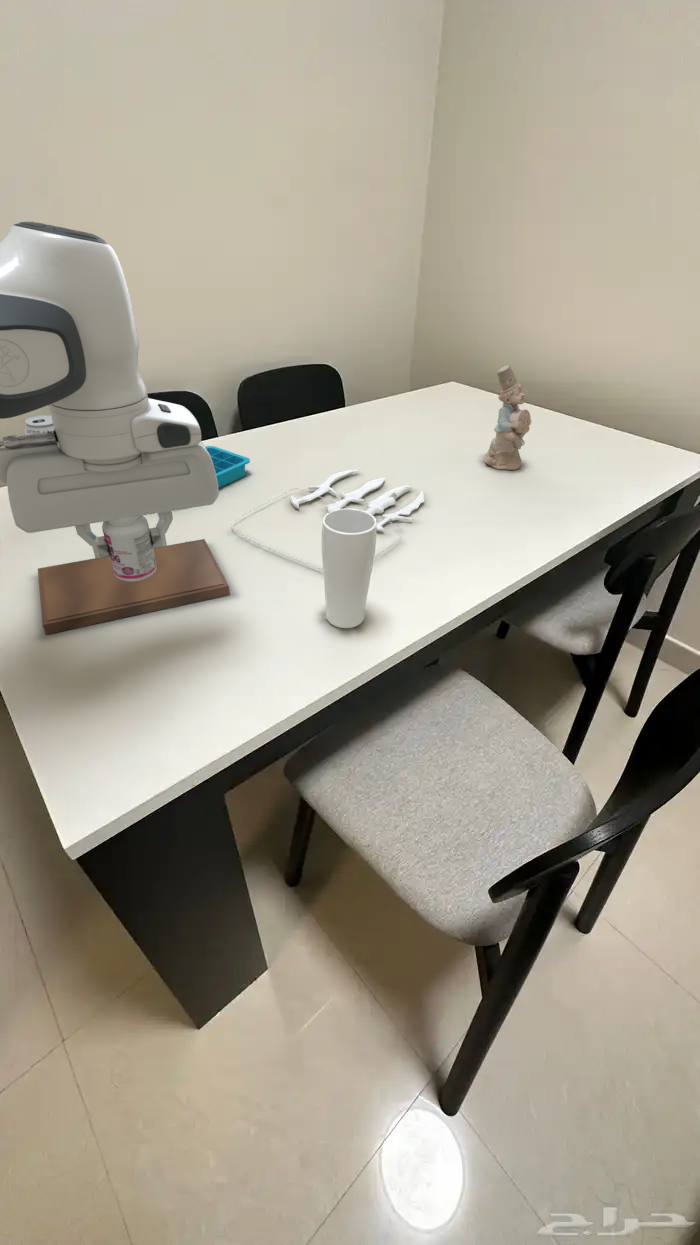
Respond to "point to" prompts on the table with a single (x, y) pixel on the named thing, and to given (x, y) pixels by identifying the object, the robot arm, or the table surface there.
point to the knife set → (357, 501)
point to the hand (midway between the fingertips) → (131, 549)
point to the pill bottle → (130, 548)
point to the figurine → (509, 424)
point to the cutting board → (127, 587)
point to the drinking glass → (347, 564)
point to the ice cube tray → (227, 465)
